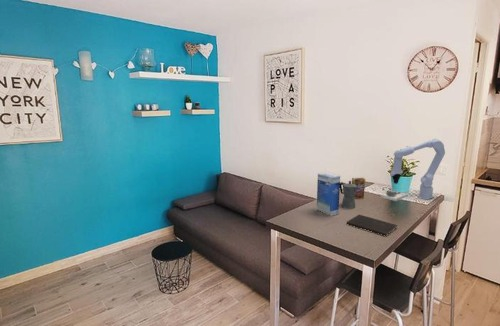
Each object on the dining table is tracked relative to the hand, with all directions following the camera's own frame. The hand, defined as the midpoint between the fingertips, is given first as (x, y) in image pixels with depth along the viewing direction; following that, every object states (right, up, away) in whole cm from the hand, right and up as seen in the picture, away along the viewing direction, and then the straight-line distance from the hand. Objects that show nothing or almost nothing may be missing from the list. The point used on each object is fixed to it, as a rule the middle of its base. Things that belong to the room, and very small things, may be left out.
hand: (395, 183), depth 222 cm
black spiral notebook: (-41, -22, -53) cm, 71 cm away
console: (-3, -10, -3) cm, 11 cm away
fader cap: (-7, -9, -7) cm, 13 cm away
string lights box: (-61, -17, -31) cm, 71 cm away
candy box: (-31, -11, -4) cm, 33 cm away
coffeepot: (-44, -14, -20) cm, 50 cm away
